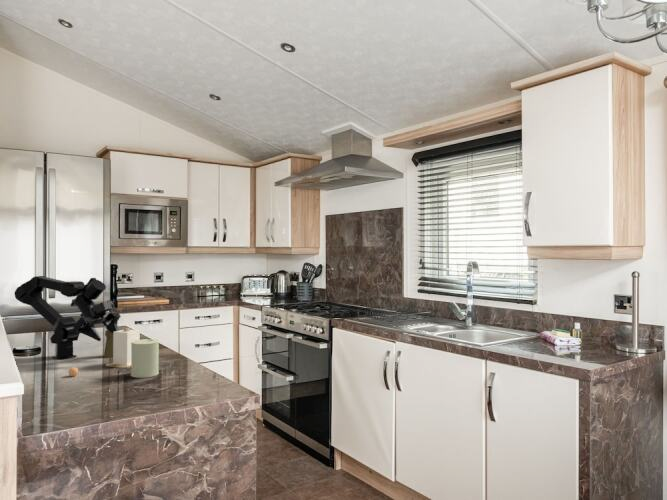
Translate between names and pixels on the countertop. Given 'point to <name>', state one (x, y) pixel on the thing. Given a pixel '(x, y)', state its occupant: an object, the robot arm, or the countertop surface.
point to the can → (144, 358)
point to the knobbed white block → (123, 345)
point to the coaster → (118, 365)
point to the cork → (109, 345)
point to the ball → (73, 371)
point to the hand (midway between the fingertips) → (109, 338)
